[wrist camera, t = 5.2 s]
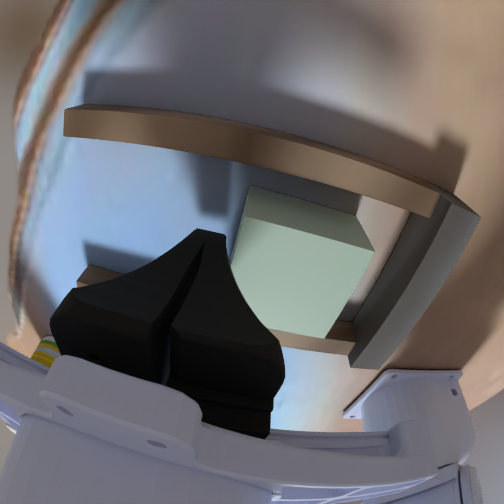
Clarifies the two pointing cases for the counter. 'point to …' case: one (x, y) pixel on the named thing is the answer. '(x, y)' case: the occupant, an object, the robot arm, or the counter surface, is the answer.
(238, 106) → the counter surface
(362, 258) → the block
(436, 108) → the counter surface
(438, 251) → the guide channel
